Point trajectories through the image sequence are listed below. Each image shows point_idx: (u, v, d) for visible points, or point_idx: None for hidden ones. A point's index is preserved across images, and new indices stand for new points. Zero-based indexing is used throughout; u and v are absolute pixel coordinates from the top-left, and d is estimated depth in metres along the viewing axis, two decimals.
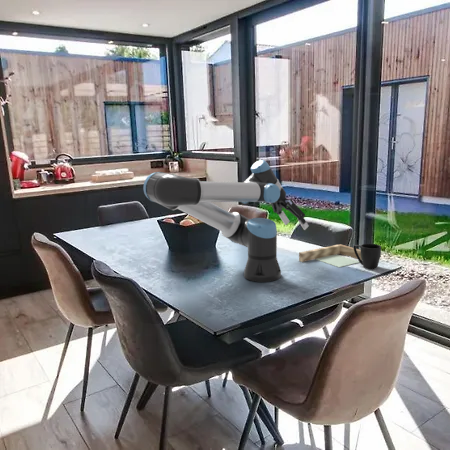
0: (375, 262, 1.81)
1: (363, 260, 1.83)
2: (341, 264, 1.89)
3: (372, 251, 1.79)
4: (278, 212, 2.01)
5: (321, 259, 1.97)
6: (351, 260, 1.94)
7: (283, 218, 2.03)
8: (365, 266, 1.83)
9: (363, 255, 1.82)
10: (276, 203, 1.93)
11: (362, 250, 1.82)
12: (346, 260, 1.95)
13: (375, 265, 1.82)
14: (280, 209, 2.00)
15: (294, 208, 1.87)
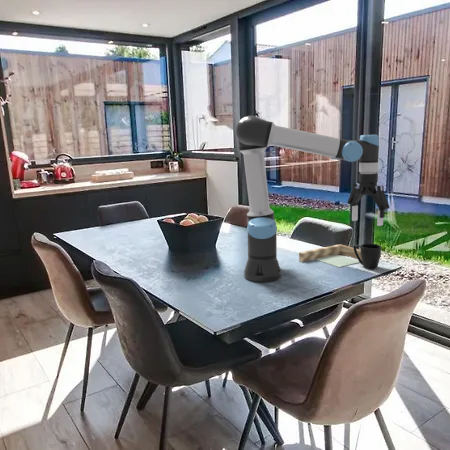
0: (375, 262, 1.81)
1: (363, 260, 1.83)
2: (341, 264, 1.89)
3: (372, 251, 1.79)
4: (354, 202, 1.86)
5: (321, 259, 1.97)
6: (351, 260, 1.94)
7: (354, 212, 1.87)
8: (365, 266, 1.83)
9: (363, 255, 1.82)
10: (362, 187, 1.80)
11: (362, 250, 1.82)
12: (346, 260, 1.95)
13: (375, 265, 1.82)
14: (357, 200, 1.85)
15: (382, 195, 1.73)
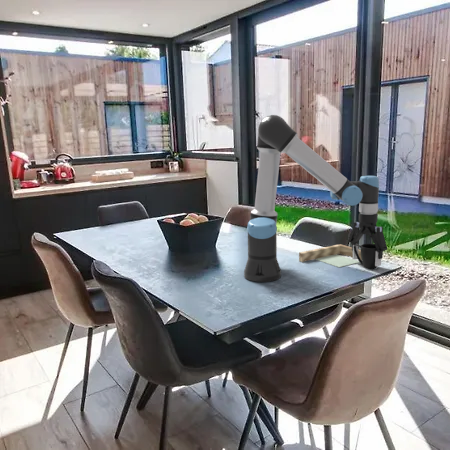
0: None
1: (363, 260, 1.83)
2: (341, 264, 1.89)
3: (372, 251, 1.79)
4: (355, 241, 1.88)
5: (321, 259, 1.97)
6: (351, 260, 1.94)
7: None
8: (365, 266, 1.83)
9: (363, 255, 1.82)
10: (362, 226, 1.83)
11: (362, 250, 1.82)
12: (346, 260, 1.95)
13: None
14: (358, 239, 1.88)
15: (381, 237, 1.77)
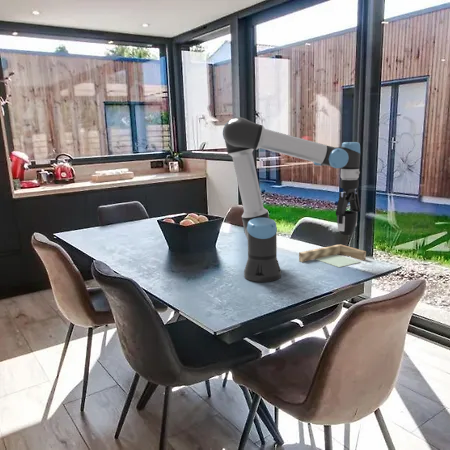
0: None
1: None
2: (341, 264, 1.89)
3: None
4: (351, 207, 1.92)
5: (321, 259, 1.97)
6: (351, 260, 1.94)
7: None
8: None
9: None
10: None
11: None
12: (346, 260, 1.95)
13: None
14: (353, 206, 1.90)
15: (339, 201, 1.81)
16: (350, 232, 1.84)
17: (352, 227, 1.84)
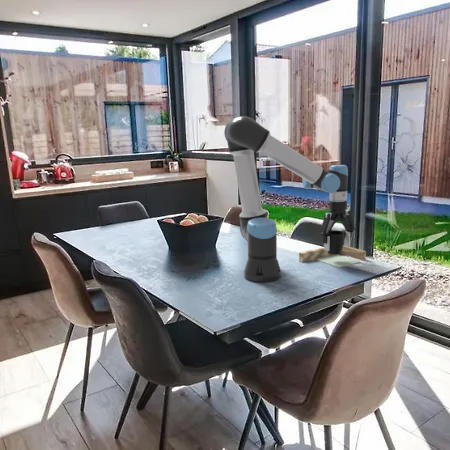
0: None
1: None
2: (341, 264, 1.89)
3: None
4: (344, 227, 1.96)
5: (321, 259, 1.97)
6: (351, 260, 1.94)
7: (345, 237, 1.96)
8: None
9: None
10: None
11: None
12: (346, 260, 1.95)
13: None
14: (345, 226, 1.94)
15: (324, 222, 1.88)
16: (336, 252, 1.90)
17: (337, 247, 1.89)
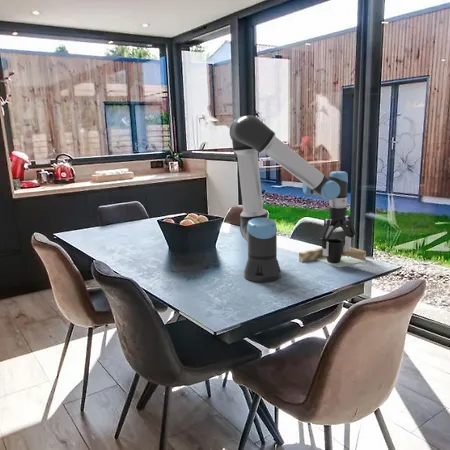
0: None
1: None
2: (341, 264, 1.89)
3: None
4: (345, 233, 1.97)
5: (321, 259, 1.97)
6: (351, 260, 1.94)
7: (346, 242, 1.97)
8: None
9: None
10: None
11: None
12: (346, 260, 1.95)
13: (328, 258, 1.92)
14: (346, 232, 1.95)
15: (323, 228, 1.88)
16: (335, 260, 1.91)
17: (337, 256, 1.90)
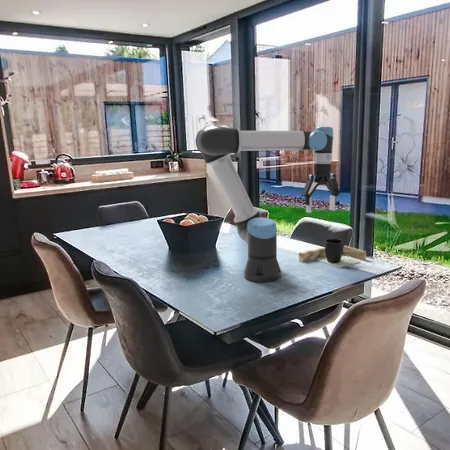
0: (326, 255, 1.92)
1: None
2: (341, 264, 1.89)
3: None
4: None
5: (321, 259, 1.97)
6: (351, 260, 1.94)
7: (330, 201, 1.94)
8: None
9: None
10: None
11: None
12: (346, 260, 1.95)
13: (328, 258, 1.92)
14: (330, 190, 1.92)
15: (307, 183, 1.86)
16: (335, 260, 1.91)
17: (337, 256, 1.90)
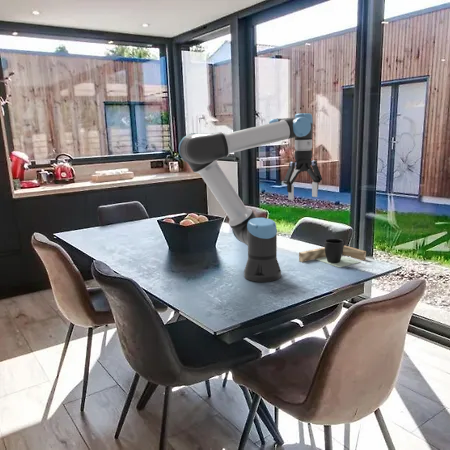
0: (326, 255, 1.92)
1: None
2: (341, 264, 1.89)
3: None
4: None
5: (321, 259, 1.97)
6: (351, 260, 1.94)
7: (313, 188, 1.95)
8: None
9: None
10: None
11: None
12: (346, 260, 1.95)
13: (328, 258, 1.92)
14: (312, 177, 1.93)
15: (288, 171, 1.86)
16: (335, 260, 1.91)
17: (337, 256, 1.90)
